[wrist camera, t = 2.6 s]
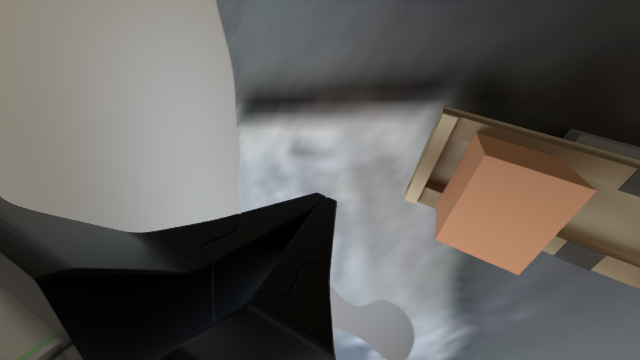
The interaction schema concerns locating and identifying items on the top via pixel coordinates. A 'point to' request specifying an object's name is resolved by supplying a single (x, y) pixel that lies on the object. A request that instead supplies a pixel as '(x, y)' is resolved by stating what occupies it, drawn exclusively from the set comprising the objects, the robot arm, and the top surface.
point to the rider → (507, 202)
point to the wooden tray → (580, 155)
